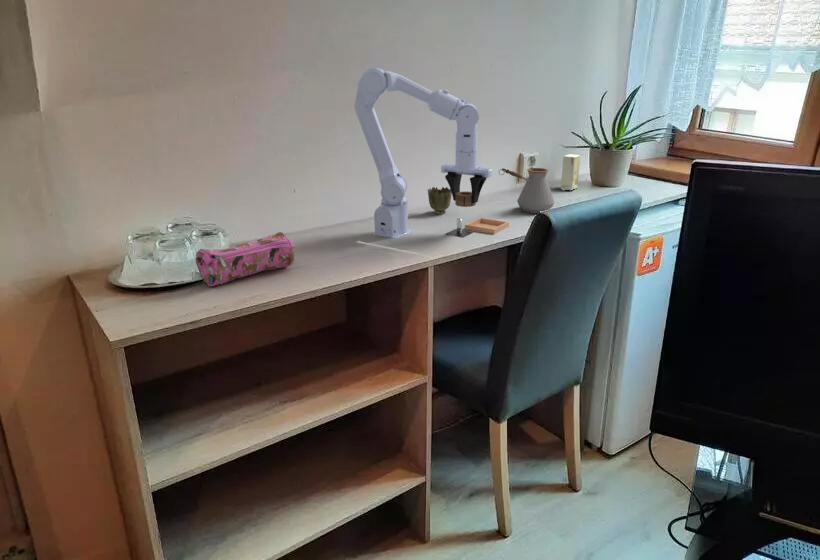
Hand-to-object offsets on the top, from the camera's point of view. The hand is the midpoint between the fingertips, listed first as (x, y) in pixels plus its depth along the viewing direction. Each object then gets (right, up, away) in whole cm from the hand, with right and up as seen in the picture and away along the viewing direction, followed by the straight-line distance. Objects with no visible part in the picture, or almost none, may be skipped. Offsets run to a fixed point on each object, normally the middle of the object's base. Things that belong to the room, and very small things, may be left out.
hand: (465, 201), depth 169 cm
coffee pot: (+20, -1, +25) cm, 32 cm away
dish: (+7, -7, +7) cm, 12 cm away
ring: (0, -1, 0) cm, 1 cm away
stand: (-2, -9, +2) cm, 10 cm away
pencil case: (-52, -21, -26) cm, 62 cm away
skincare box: (+42, +11, +55) cm, 70 cm away
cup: (-6, -1, +23) cm, 24 cm away
